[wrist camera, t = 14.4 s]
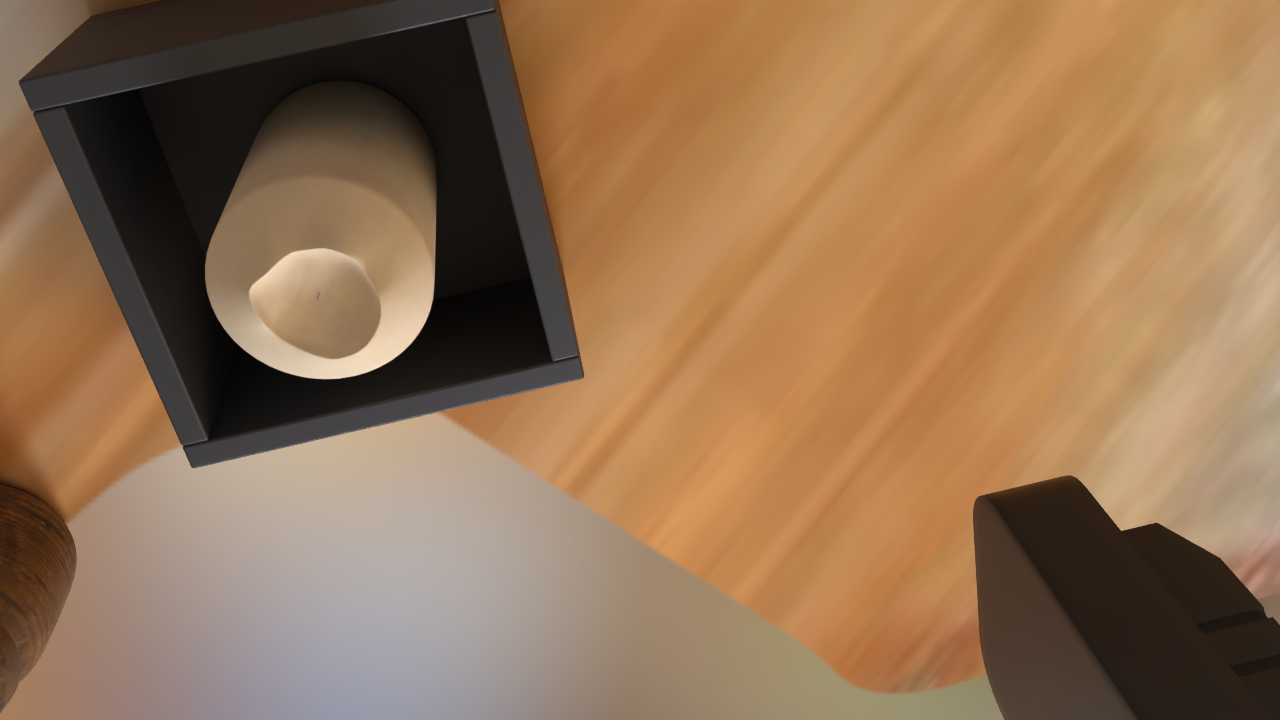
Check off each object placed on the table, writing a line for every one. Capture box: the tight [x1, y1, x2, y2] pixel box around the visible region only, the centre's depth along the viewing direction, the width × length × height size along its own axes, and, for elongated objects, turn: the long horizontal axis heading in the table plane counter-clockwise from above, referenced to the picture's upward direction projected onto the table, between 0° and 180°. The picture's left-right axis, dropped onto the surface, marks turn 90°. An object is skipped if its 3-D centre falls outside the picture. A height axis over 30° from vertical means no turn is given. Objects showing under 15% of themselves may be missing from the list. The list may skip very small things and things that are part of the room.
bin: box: [19, 0, 584, 468], centre depth 35 cm, size 12×12×7 cm
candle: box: [205, 80, 437, 379], centre depth 33 cm, size 6×6×10 cm
